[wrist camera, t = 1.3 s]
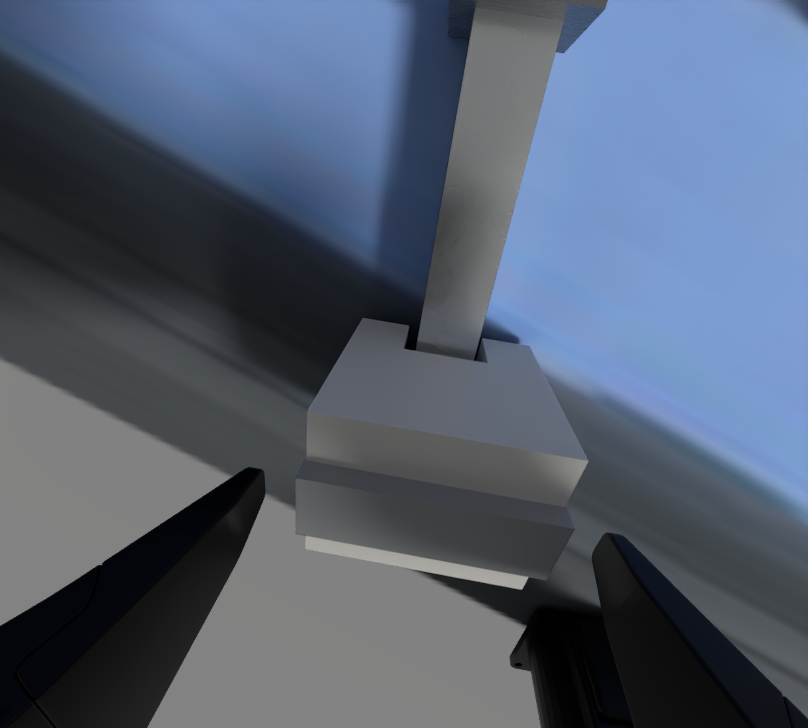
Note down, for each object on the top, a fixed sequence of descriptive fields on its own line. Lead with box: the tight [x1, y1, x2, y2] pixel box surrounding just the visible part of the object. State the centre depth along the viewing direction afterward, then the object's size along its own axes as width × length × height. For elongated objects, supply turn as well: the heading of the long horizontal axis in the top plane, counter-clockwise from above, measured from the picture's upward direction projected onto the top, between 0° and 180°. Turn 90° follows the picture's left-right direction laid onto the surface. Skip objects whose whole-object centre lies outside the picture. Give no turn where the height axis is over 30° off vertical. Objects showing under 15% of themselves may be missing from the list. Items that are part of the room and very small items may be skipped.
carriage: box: [296, 318, 588, 590], centre depth 12 cm, size 5×6×7 cm
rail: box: [416, 0, 608, 361], centre depth 12 cm, size 17×3×3 cm, turn 172°
